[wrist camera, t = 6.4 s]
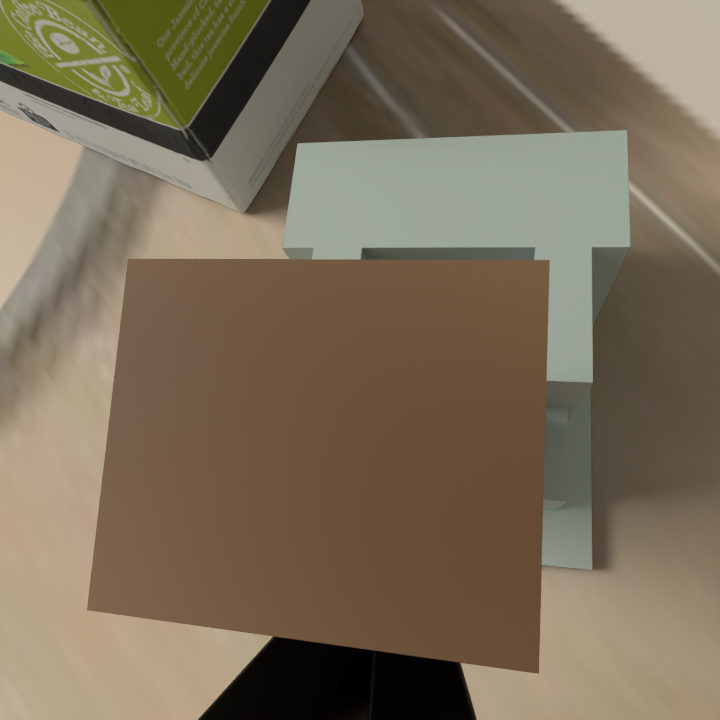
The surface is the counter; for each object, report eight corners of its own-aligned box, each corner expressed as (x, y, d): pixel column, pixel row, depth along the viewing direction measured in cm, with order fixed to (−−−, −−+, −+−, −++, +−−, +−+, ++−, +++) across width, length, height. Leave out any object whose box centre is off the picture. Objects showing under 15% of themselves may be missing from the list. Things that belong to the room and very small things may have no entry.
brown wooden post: (500, 494, 17) (537, 672, 4) (394, 485, 18) (87, 609, 4) (503, 405, 17) (549, 259, 4) (399, 399, 18) (128, 258, 5)
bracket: (589, 569, 17) (639, 578, 11) (313, 540, 19) (240, 535, 13) (586, 231, 20) (626, 106, 14) (348, 233, 22) (300, 122, 16)
